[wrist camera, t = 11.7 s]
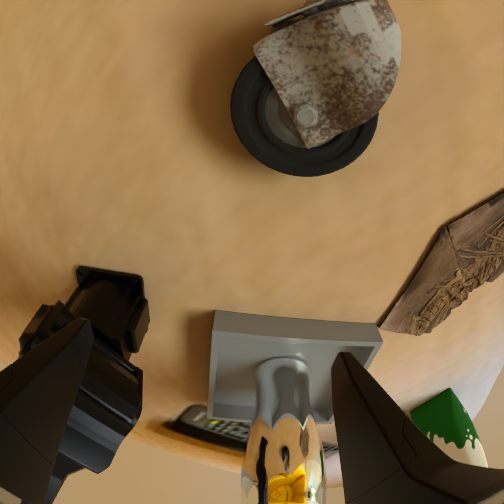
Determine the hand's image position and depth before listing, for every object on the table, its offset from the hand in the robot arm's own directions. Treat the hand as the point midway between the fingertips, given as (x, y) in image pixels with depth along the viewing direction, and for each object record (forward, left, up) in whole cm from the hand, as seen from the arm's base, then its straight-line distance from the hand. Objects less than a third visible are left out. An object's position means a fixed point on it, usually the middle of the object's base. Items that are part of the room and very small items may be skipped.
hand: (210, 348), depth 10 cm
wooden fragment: (+23, 0, -14) cm, 27 cm away
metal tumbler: (+7, -17, -13) cm, 22 cm away
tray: (+7, -17, -13) cm, 23 cm away
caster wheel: (+4, +9, -13) cm, 17 cm away
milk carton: (+34, -27, -13) cm, 45 cm away
